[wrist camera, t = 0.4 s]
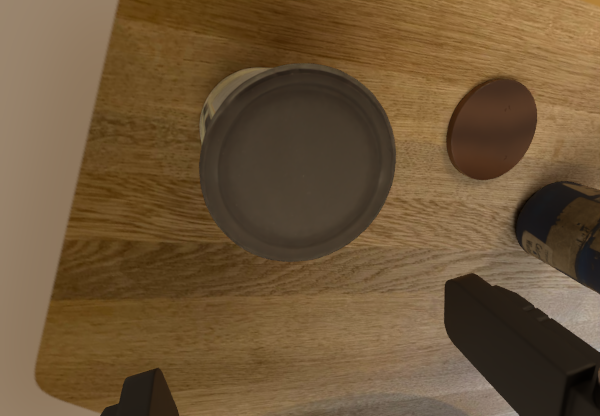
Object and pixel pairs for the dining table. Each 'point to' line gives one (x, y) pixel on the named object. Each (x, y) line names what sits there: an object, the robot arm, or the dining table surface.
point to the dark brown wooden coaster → (491, 129)
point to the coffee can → (294, 159)
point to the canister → (564, 230)
